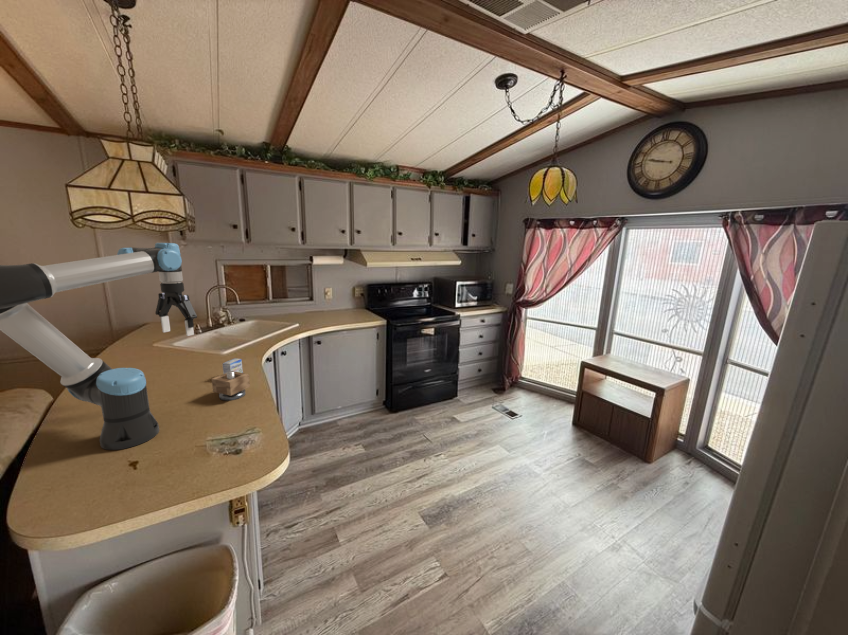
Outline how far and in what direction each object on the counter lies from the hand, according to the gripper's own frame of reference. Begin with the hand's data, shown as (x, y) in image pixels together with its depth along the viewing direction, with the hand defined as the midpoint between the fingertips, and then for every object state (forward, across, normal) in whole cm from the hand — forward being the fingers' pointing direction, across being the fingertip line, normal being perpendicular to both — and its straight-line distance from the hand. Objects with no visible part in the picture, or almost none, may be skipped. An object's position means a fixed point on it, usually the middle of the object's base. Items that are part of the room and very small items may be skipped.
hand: (178, 333), depth 137 cm
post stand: (+29, -16, -9) cm, 34 cm away
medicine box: (+29, +1, -25) cm, 38 cm away
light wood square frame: (+26, -16, -9) cm, 32 cm away
